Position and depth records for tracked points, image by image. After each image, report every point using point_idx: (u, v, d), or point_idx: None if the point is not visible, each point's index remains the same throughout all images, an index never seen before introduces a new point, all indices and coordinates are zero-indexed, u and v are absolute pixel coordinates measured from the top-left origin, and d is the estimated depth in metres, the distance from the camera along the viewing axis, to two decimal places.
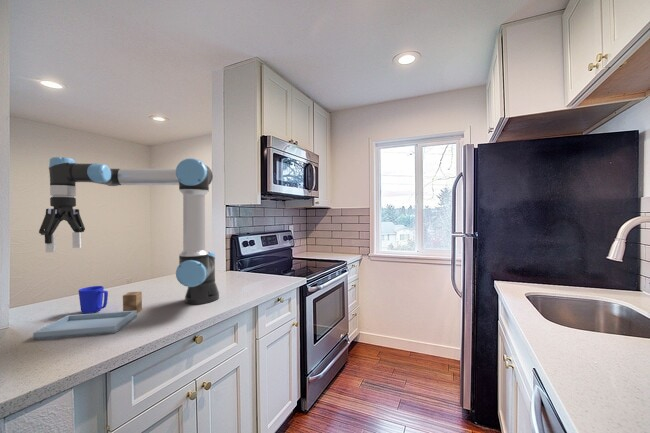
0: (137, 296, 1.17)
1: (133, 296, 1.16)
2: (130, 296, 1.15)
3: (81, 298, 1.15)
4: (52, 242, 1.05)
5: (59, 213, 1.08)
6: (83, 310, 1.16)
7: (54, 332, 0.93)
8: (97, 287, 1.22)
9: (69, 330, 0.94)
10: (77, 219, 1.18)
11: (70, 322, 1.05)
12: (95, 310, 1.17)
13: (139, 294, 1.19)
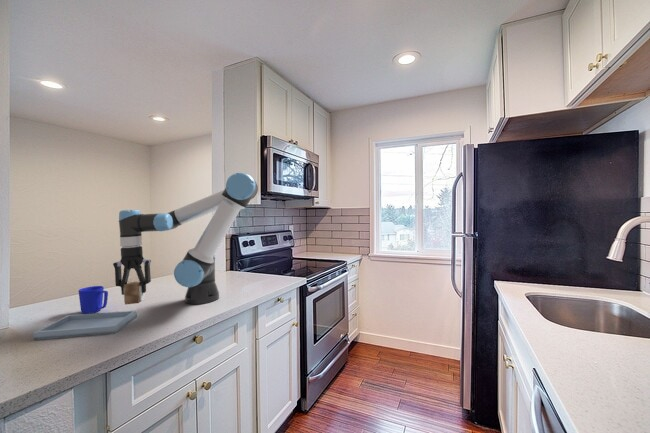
0: (138, 285, 1.17)
1: (134, 285, 1.16)
2: (131, 285, 1.15)
3: (81, 298, 1.15)
4: None
5: (123, 263, 1.16)
6: (83, 310, 1.16)
7: (54, 332, 0.93)
8: (97, 287, 1.22)
9: (69, 330, 0.94)
10: None
11: (70, 322, 1.05)
12: (95, 310, 1.17)
13: (140, 284, 1.19)
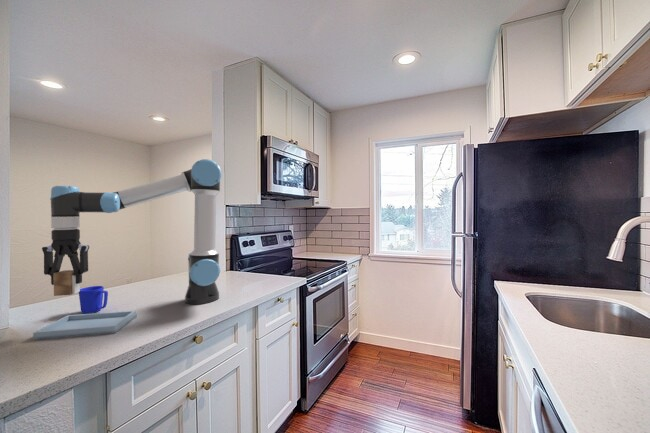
0: (72, 274, 1.00)
1: (66, 274, 0.99)
2: (62, 274, 0.99)
3: (81, 298, 1.15)
4: None
5: (54, 248, 0.99)
6: (83, 310, 1.16)
7: (54, 332, 0.93)
8: (97, 287, 1.22)
9: (69, 330, 0.94)
10: None
11: (70, 322, 1.05)
12: (95, 310, 1.17)
13: None
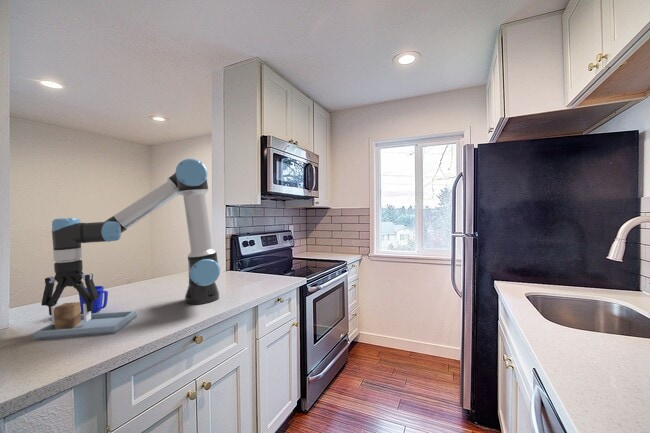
0: (73, 308, 1.00)
1: (67, 308, 0.99)
2: (63, 308, 0.99)
3: (81, 298, 1.15)
4: None
5: (56, 280, 0.99)
6: (83, 310, 1.16)
7: (54, 332, 0.93)
8: (97, 287, 1.22)
9: (69, 330, 0.94)
10: None
11: None
12: (95, 310, 1.17)
13: (76, 305, 1.02)
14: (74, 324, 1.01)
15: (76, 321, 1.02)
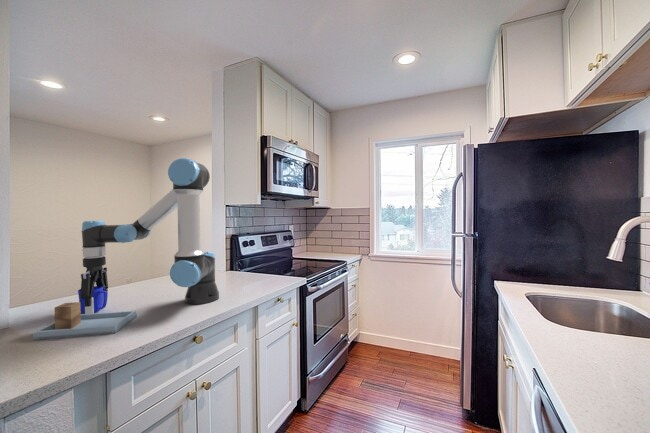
0: (73, 308, 1.00)
1: (67, 308, 0.99)
2: (63, 308, 0.99)
3: None
4: (91, 304, 1.14)
5: (92, 274, 1.16)
6: (83, 310, 1.15)
7: (54, 332, 0.93)
8: (96, 287, 1.22)
9: (69, 330, 0.94)
10: (103, 277, 1.24)
11: None
12: (95, 310, 1.17)
13: (76, 305, 1.02)
14: (74, 324, 1.01)
15: (76, 321, 1.02)
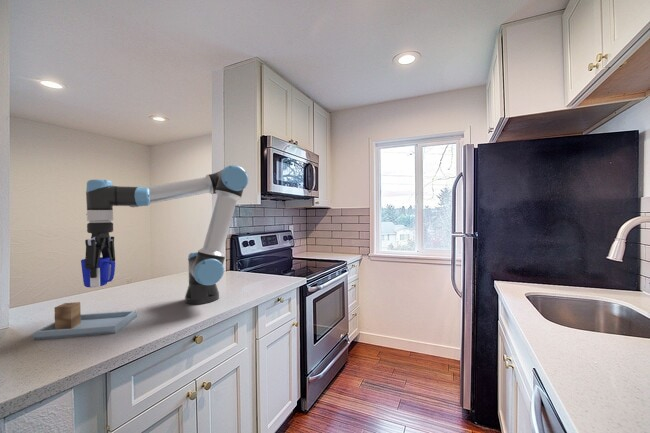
0: (73, 308, 1.00)
1: (67, 308, 0.99)
2: (63, 308, 0.99)
3: (84, 269, 0.99)
4: (97, 276, 0.99)
5: (98, 240, 1.00)
6: (86, 283, 0.99)
7: (54, 332, 0.93)
8: (102, 258, 1.06)
9: (69, 330, 0.94)
10: (110, 247, 1.08)
11: None
12: (100, 283, 1.01)
13: (76, 305, 1.02)
14: (74, 324, 1.01)
15: (76, 321, 1.02)
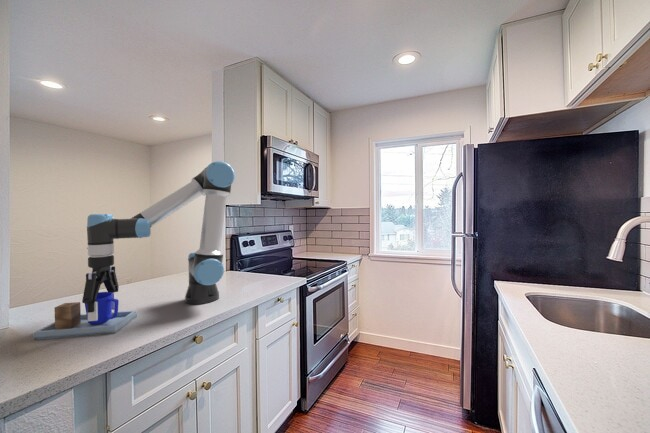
0: (73, 308, 1.00)
1: (67, 308, 0.99)
2: (63, 308, 0.99)
3: None
4: (95, 310, 0.97)
5: (99, 275, 1.00)
6: (90, 321, 1.01)
7: (54, 332, 0.93)
8: (104, 293, 1.08)
9: (69, 330, 0.94)
10: (112, 277, 1.09)
11: None
12: (104, 320, 1.03)
13: (76, 305, 1.02)
14: (74, 324, 1.01)
15: (76, 321, 1.02)
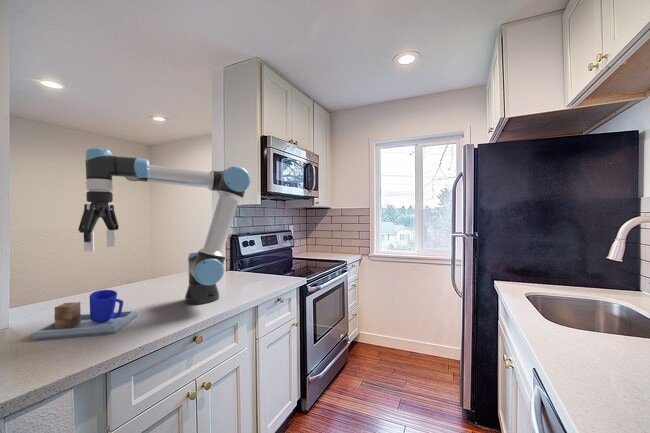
0: (73, 308, 1.00)
1: (67, 308, 0.99)
2: (63, 308, 0.99)
3: (92, 306, 1.02)
4: (91, 240, 0.96)
5: (97, 209, 0.99)
6: (93, 318, 1.03)
7: (54, 332, 0.93)
8: (109, 291, 1.09)
9: (69, 330, 0.94)
10: (111, 216, 1.09)
11: None
12: (106, 319, 1.05)
13: (76, 305, 1.02)
14: (74, 324, 1.01)
15: (76, 321, 1.02)
